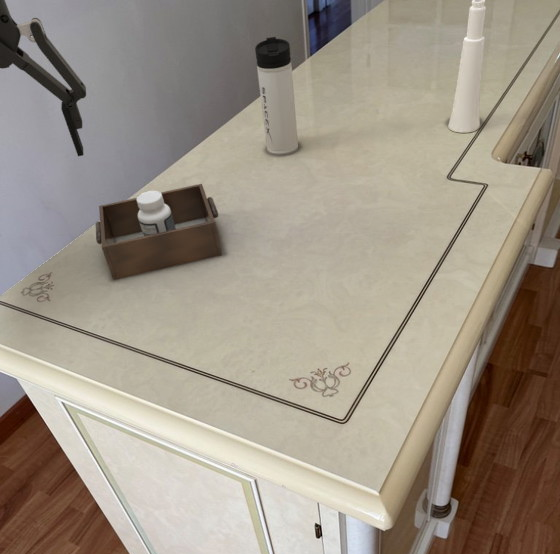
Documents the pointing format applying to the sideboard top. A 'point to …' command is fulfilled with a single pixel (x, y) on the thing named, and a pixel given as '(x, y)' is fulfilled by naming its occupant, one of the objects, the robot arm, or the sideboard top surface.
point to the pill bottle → (154, 213)
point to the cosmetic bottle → (470, 74)
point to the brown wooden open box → (158, 234)
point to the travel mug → (277, 96)
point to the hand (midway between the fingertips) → (35, 161)
